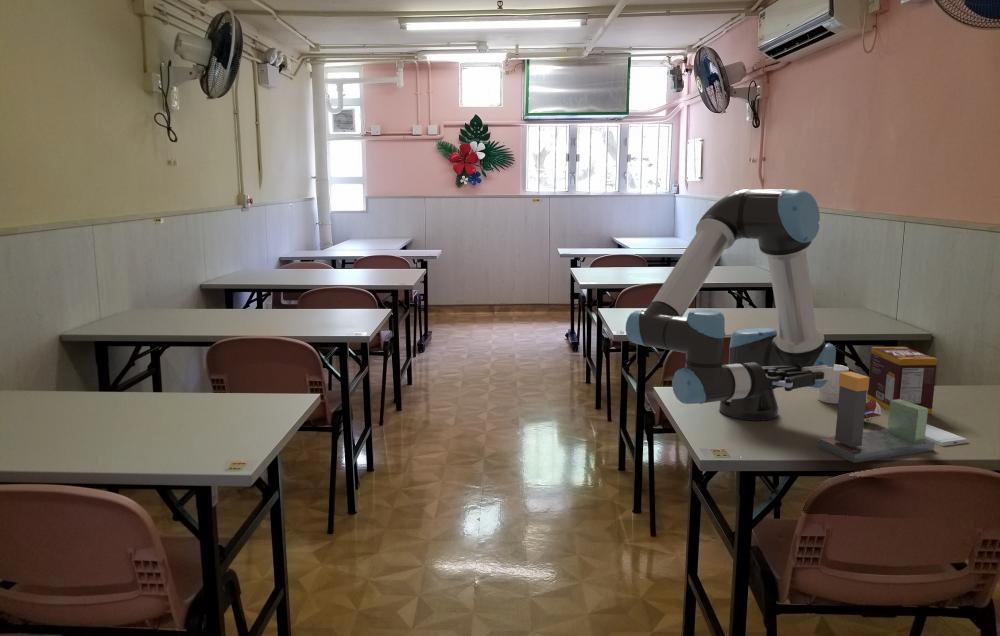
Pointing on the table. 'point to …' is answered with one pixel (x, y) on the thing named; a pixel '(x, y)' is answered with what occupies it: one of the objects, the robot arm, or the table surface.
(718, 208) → the robot arm
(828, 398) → the white cup
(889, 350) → the supplement box
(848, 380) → the lever
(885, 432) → the grey base stand
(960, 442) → the hard drive
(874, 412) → the geometric puzzle
